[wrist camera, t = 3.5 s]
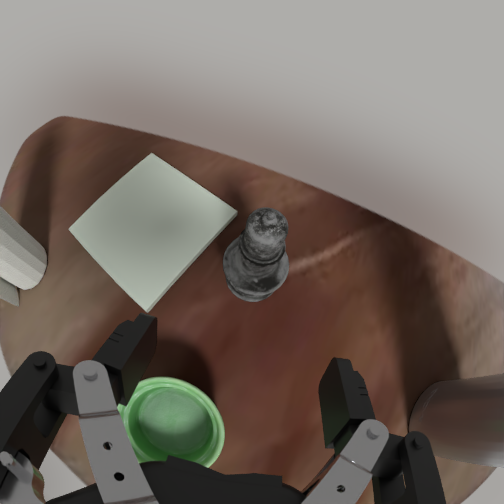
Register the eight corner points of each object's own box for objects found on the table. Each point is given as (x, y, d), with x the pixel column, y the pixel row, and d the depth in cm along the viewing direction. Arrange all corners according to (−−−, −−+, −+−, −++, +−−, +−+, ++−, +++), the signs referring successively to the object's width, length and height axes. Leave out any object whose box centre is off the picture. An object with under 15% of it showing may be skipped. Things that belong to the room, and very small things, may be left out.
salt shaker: (243, 239, 30) (255, 161, 19) (291, 268, 29) (331, 203, 18) (211, 283, 27) (203, 222, 16) (262, 316, 26) (291, 275, 16)
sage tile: (237, 215, 31) (237, 211, 30) (147, 312, 25) (145, 311, 25) (152, 157, 33) (151, 152, 32) (71, 232, 28) (68, 229, 27)
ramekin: (212, 472, 20) (210, 490, 16) (122, 443, 20) (105, 454, 16) (234, 391, 23) (236, 395, 19) (142, 362, 24) (127, 360, 20)
